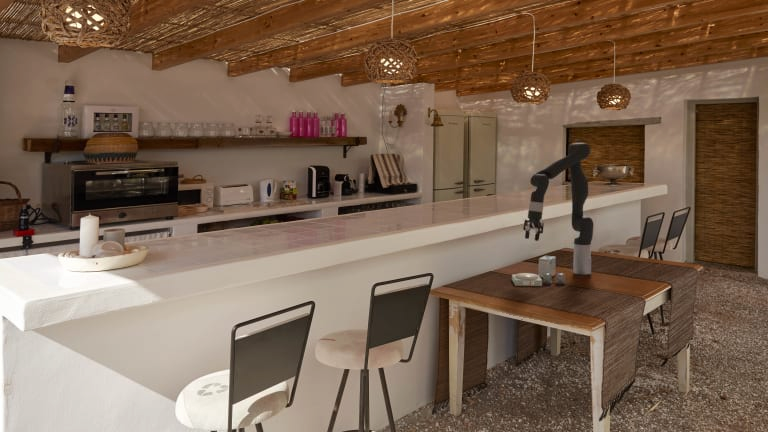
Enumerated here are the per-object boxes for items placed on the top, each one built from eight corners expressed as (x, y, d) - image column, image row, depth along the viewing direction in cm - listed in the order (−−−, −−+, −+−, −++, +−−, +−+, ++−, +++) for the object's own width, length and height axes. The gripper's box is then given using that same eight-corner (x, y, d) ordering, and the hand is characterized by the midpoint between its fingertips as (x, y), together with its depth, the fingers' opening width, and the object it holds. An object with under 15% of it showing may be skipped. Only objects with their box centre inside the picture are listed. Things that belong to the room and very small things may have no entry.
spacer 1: (550, 282, 320) (550, 273, 320) (552, 284, 316) (552, 274, 316) (542, 282, 321) (542, 273, 320) (543, 283, 317) (544, 274, 316)
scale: (537, 280, 326) (537, 272, 325) (542, 286, 311) (542, 278, 311) (511, 279, 327) (512, 272, 327) (515, 285, 313) (515, 278, 312)
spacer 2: (563, 282, 320) (564, 273, 319) (565, 284, 315) (565, 275, 315) (555, 282, 320) (555, 273, 320) (557, 284, 316) (557, 275, 315)
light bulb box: (544, 273, 342) (544, 255, 341) (555, 274, 339) (556, 256, 337) (538, 277, 334) (538, 258, 332) (549, 278, 330) (550, 259, 328)
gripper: (549, 212, 319) (545, 241, 320) (533, 209, 332) (529, 238, 333) (538, 211, 316) (534, 240, 317) (522, 208, 329) (518, 237, 330)
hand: (531, 239), depth 325 cm, fingers open, 8 cm apart
